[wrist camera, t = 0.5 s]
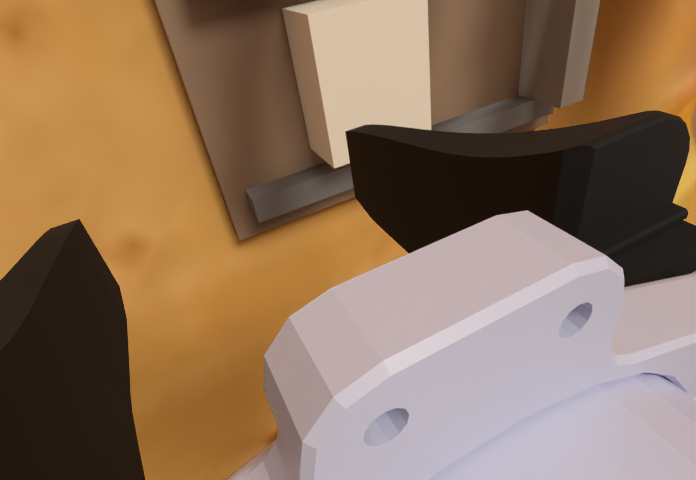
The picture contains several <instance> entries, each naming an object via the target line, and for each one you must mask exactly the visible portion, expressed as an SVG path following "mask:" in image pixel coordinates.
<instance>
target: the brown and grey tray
mask: <svg viewBox="0 0 696 480" xmlns="http://www.w3.org/2000/svg"><path fill="white" fill-rule="evenodd" d="M153 1H154V4H155V7H156V10H157V12H158V15H159V18H160V21H161V24H162V27H163V29H164V32H165V35H166V38H167V41H168V44H169V46H170V49H171V52H172V55H173V58H174V60H175V63H176V66H177V69H178V72H179V75H180V77H181V80H182V83H183V86H184V89H185V91H186V94H187V97H188V100H189V103H190V106H191V108H192V111H193V114H194V117H195V120H196V123H197V125H198V128H199V131H200V134H201V137H202V139H203V142H204V145H205V148H206V151H207V154H208V156H209V159H210V162H211V165H212V168H213V171H214V173H215V176H216V179H217V182H218V185H219V187H220V190H221V193H222V196H223V199H224V202H225V204H226V207H227V210H228V213H229V216H230V218H231V221H232V224H233V227H234V230H235V233H236V235H237V237H238V238H239V240H240V241H241V240H243V239H246V238H248V237H251V236H254V235H256V234H259V233H262V232H264V231H267V230H269V229H272V228H275V227H277V226H280V225H283V224H285V223H288V222H290V221H293V220H296V219H298V218H301V217H304V216H306V215H309V214H311V213H314V212H317V211H319V210H322V209H325V208H327V207H330V206H332V205H335V204H338V203H340V202H343V201H346V200H348V199H351V198H353V197H355V193H354V186H353V180H352V173H351V166H350V163H349V164H346V165H343V166H340V167H338V168H335V169H334V168H333V167H332V166H331V165H329V164H328V163H327V162H326V161H325V160H324V159H322V158H321V157H320V156H319V155H318V154H317V153H315V152H314V151H313V150H312V149H311V148H310V144H309V139H308V134H307V129H306V124H305V119H304V114H303V110H302V105H301V100H300V95H299V90H298V85H297V80H296V75H295V70H294V65H293V60H292V56H291V51H290V46H289V41H288V36H287V31H286V26H285V21H284V16H283V11H282V8H286V7H290V6H294V5H299V4H303V3H307V2H312V1H316V0H153ZM599 5H600V0H428V30H429V64H430V99H431V130H434V131H444V132H459V133H516V132H527V131H529V130H532V129H534V128H537V127H540V126H542V125H545V124H547V120H548V115H549V114H552V113H553V109H554V107H557V108H560V109H561V108H563V107H566V106H569V105H571V104H574V103H577V102H579V101H582V100H583V96H584V91H585V85H586V79H587V74H588V68H589V62H590V56H591V51H592V45H593V39H594V34H595V28H596V22H597V17H598V11H599Z"/></svg>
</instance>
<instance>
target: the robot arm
mask: <svg viewBox="0 0 696 480" xmlns="http://www.w3.org/2000/svg"><path fill="white" fill-rule="evenodd" d="M345 133H346V140H347V146H348V153H349V160H350V166H351V173H352V180H353V186H354V193H355V197H356V198H357V200H358V201H359V203H360V204H361V205H362V207H363V208H364V209H365V211H366V212H367V213H368V214H369V216H370V217H371V218H372V219H373V220H374V221H375V222H376V223H377V224H378V225H379V226H380V227H381V228H382V229H383V230H384V231H385V232H386V233H387V234H388V235H389V236H391V237H392V238H393V239H394V240H395V241H396V242H397V243H398V244H399V245H400V246H401V247H403V248H404V249H405V250H406V251H407V252H408V253H409V254H407V255H405V256H402V257H400V258H398V259H396V260H393V261H391V262H389V263H386V264H384V265H382V266H380V267H377V268H375V269H373V270H371V271H368V272H366V273H364V274H361V275H359V276H357V277H355V278H352V279H350V280H348V281H346V282H343V283H341V284H339V285H336V286H334V287H332V288H330V289H328V290H327V291H326V292H324V293H323V294H321V295H320V296H318V297H317V298H315V299H314V300H313V301H311V302H310V303H308V304H307V305H305V306H304V307H302V308H301V309H300V310H298V311H297V312H295V313H294V314H292V315H291V316H289V317H288V319H287V321H286V322H285V324H284V325H283V327H282V328H281V330H280V331H279V333H278V335H277V336H276V338H275V339H274V341H273V342H272V344H271V346H270V347H269V349H268V350H267V352H266V353H265V355H264V392H265V394H266V396H267V399H268V401H269V404H270V406H271V409H272V411H273V414H274V416H275V419H276V423H277V428H278V435H277V438H276V439H275V440H274V441H273V442H272V443H271V444H269V445H268V446H267V447H266V448H264V449H263V450H262V451H261V452H259V453H258V454H257V455H256V456H255V457H253V458H252V459H251V460H250V461H248V462H247V463H246V464H245V465H243V466H242V467H241V468H240V469H239V470H237V471H236V472H235V473H234V474H232V475H231V476H230V477H229V478H227V479H226V480H696V226H695V225H693V224H690V223H688V222H686V221H683V219H685V218H687V215H688V211H687V209H686V208H683V207H681V206H678V205H676V204H674V203H672V202H673V199H674V196H675V193H676V190H677V187H678V184H679V181H680V179H681V176H682V173H683V170H684V167H685V164H686V160H687V156H688V152H689V143H690V136H689V133H688V129H687V125H686V123H685V122H684V121H683V120H682V119H681V118H680V117H678V116H675V115H671V114H668V113H665V112H661V111H645V112H640V113H636V114H631V115H627V116H622V117H618V118H613V119H609V120H604V121H600V122H595V123H589V124H583V125H577V126H571V127H564V128H557V129H549V130H540V131H528V132H516V133H459V132H444V131H434V130H424V129H416V128H407V127H399V126H390V125H376V124H371V125H363V126H360V127H357V128H354V129H351V130H348V131H345ZM0 480H145V476H144V471H143V466H142V462H141V457H140V452H139V447H138V441H137V436H136V430H135V425H134V419H133V414H132V405H131V396H130V375H129V353H128V334H127V318H126V314H125V309H124V304H123V300H122V296H121V292H120V287H119V285H118V283H117V282H116V280H115V278H114V276H113V275H112V273H111V271H110V270H109V268H108V266H107V265H106V263H105V261H104V260H103V258H102V256H101V255H100V253H99V251H98V250H97V248H96V246H95V245H94V243H93V241H92V240H91V238H90V236H89V235H88V233H87V231H86V229H85V228H84V226H83V224H82V223H81V221H80V219H78V220H75V221H72V222H69V223H66V224H63V225H60V226H57V227H54V228H51V229H49V230H48V231H47V232H45V233H44V234H43V235H42V236H41V237H40V238H39V239H38V240H37V241H36V242H35V243H34V245H33V246H32V247H31V248H30V249H29V250H28V251H27V252H26V253H25V254H24V256H23V257H22V258H21V259H20V260H19V261H18V262H17V263H16V264H15V265H14V267H13V268H12V269H11V270H10V271H9V272H8V273H7V274H6V275H5V276H4V277H3V278H2V279H1V280H0Z"/></svg>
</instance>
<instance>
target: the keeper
mask: <svg viewBox="0 0 696 480" xmlns="http://www.w3.org/2000/svg"><path fill="white" fill-rule="evenodd" d="M282 11H283V16H284V21H285V26H286V31H287V36H288V41H289V46H290V51H291V56H292V60H293V65H294V70H295V75H296V80H297V85H298V90H299V95H300V100H301V105H302V110H303V114H304V119H305V124H306V129H307V134H308V139H309V144H310V148H311V149H312V150H313V151H314V152H315V153H317V154H318V155H319V156H320V157H321V158H322V159H324V160H325V161H326V162H327V163H328V164H329V165H331V166H332V167H333V168H334V169H335V168H338V167H340V166H343V165H346V164H349V163H350V160H349V153H348V146H347V140H346V133H345V131H348V130H351V129H354V128H357V127H360V126H363V125H371V124H376V125H390V126H399V127H407V128H416V129H424V130H431V99H430V64H429V30H428V0H316V1H312V2H307V3H303V4H299V5H294V6H290V7H286V8H282Z"/></svg>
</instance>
